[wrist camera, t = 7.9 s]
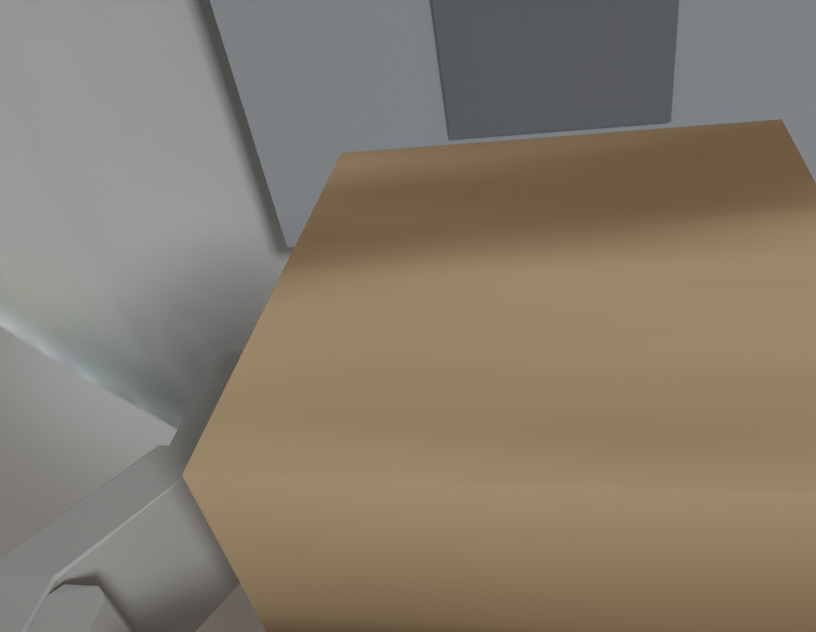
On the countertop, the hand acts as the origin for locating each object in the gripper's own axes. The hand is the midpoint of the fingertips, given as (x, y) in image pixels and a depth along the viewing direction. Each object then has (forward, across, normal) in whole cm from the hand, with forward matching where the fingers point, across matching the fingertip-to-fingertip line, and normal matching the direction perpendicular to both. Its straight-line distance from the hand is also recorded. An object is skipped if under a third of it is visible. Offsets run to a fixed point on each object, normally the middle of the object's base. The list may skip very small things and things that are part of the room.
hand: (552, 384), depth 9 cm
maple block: (+2, 0, 0) cm, 2 cm away
